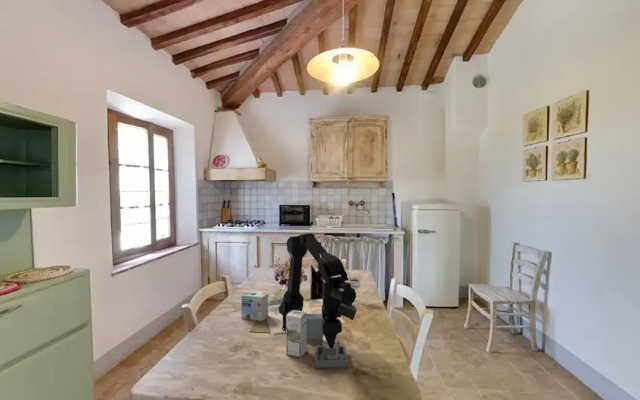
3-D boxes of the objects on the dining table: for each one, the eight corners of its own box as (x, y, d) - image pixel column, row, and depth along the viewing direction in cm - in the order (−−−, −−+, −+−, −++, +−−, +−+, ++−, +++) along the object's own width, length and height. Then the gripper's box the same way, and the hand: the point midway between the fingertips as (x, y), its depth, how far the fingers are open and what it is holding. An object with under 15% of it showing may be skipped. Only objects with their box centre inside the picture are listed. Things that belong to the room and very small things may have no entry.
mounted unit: (299, 343, 125) (299, 319, 125) (300, 335, 132) (300, 312, 132) (328, 343, 125) (328, 319, 125) (327, 335, 132) (327, 312, 132)
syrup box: (307, 350, 120) (307, 311, 119) (300, 358, 114) (300, 317, 113) (292, 348, 121) (292, 309, 121) (285, 355, 116) (285, 314, 115)
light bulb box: (240, 318, 149) (240, 294, 148) (248, 313, 155) (247, 290, 155) (262, 321, 146) (262, 297, 146) (269, 315, 152) (268, 292, 152)
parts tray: (315, 368, 107) (315, 361, 107) (315, 352, 118) (315, 345, 118) (347, 368, 108) (347, 361, 107) (345, 352, 118) (345, 345, 118)
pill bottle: (329, 352, 117) (329, 325, 116) (342, 358, 113) (342, 329, 113) (318, 359, 112) (319, 330, 112) (332, 364, 109) (332, 335, 108)
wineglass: (359, 305, 166) (360, 281, 165) (346, 304, 167) (346, 280, 167) (361, 300, 172) (361, 278, 172) (348, 299, 174) (348, 277, 173)
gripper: (358, 306, 103) (357, 355, 103) (352, 288, 121) (351, 330, 122) (322, 306, 103) (322, 355, 103) (321, 288, 121) (321, 330, 122)
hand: (331, 341), depth 112 cm, fingers open, 9 cm apart
